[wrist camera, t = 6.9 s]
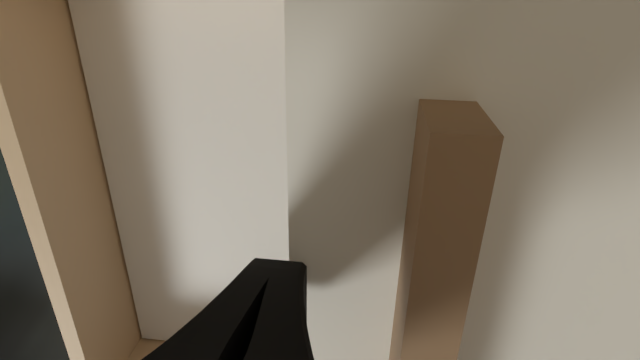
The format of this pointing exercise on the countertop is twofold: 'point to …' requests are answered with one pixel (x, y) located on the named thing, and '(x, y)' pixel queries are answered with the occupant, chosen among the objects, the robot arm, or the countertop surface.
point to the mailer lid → (466, 177)
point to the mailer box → (144, 156)
